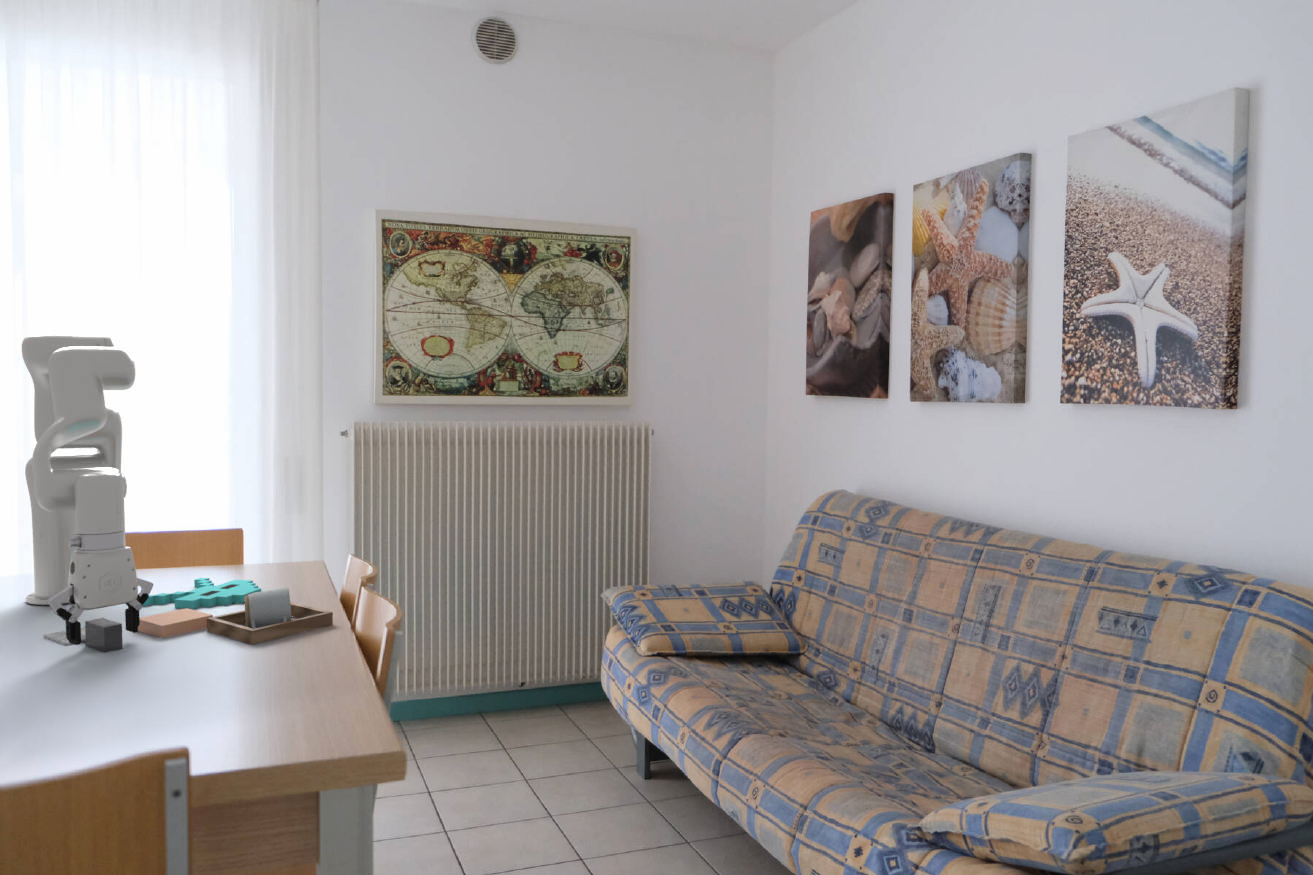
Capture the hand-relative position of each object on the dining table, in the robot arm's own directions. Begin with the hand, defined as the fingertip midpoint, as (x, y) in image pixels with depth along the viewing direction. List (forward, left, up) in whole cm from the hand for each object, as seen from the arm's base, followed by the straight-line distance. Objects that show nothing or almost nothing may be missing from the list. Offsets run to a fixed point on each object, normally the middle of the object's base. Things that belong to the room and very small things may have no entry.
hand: (104, 637), depth 170 cm
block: (-7, +14, -1) cm, 16 cm away
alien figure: (-21, +32, -3) cm, 39 cm away
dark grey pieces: (-6, 0, -2) cm, 6 cm away
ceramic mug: (+13, +24, -2) cm, 28 cm away
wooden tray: (+12, +25, -2) cm, 28 cm away
